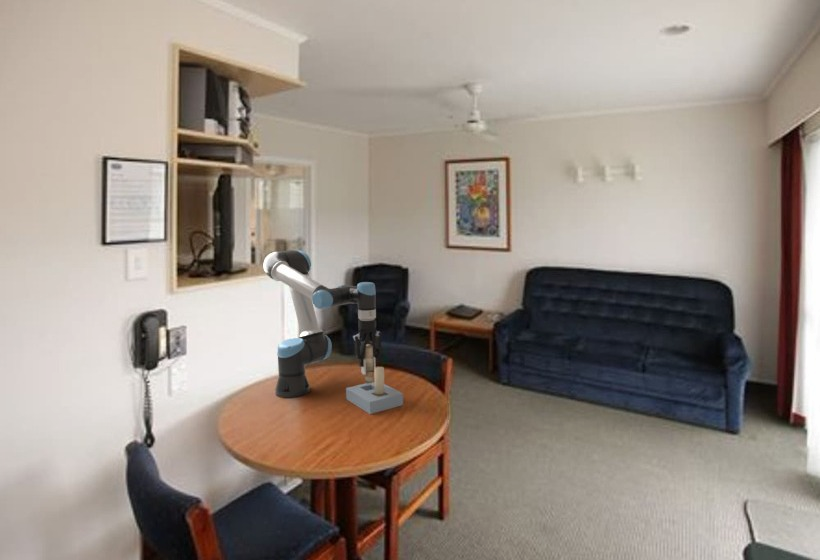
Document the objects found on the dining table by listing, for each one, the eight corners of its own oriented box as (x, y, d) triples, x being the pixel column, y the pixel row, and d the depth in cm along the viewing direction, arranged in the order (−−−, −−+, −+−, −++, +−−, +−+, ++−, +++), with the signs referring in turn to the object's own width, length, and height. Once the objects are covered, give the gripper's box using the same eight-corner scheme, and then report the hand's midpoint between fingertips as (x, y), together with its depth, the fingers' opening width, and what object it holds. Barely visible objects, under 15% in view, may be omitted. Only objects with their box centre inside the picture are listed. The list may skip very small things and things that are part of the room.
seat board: (346, 399, 208) (345, 363, 206) (377, 391, 217) (377, 356, 215) (370, 414, 192) (369, 375, 190) (403, 405, 201) (402, 367, 199)
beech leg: (362, 381, 207) (361, 345, 205) (370, 379, 210) (369, 343, 208) (367, 384, 204) (366, 347, 202) (375, 382, 206) (374, 345, 204)
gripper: (353, 323, 195) (355, 378, 198) (389, 317, 205) (390, 370, 208) (344, 320, 202) (346, 374, 204) (379, 315, 211) (380, 366, 214)
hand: (368, 372), depth 206 cm, fingers closed on beech leg, 4 cm apart
